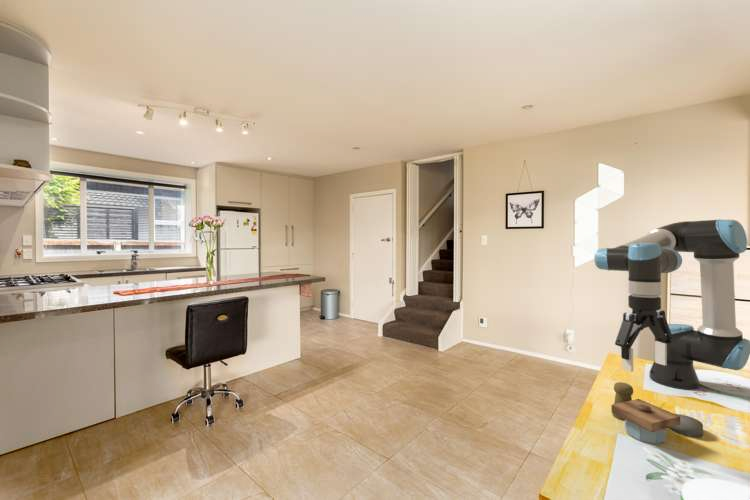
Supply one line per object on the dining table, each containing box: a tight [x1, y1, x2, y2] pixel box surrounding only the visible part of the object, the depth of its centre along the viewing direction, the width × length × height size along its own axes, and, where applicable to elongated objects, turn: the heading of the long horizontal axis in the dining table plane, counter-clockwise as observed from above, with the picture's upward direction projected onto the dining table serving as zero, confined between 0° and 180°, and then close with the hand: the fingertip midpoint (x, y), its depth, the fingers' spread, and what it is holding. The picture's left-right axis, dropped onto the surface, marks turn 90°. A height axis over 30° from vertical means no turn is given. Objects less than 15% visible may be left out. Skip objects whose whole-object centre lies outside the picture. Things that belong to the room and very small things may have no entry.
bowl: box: [624, 420, 667, 445], centre depth 101 cm, size 9×9×5 cm
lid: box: [611, 398, 680, 432], centre depth 101 cm, size 12×12×4 cm
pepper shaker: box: [611, 381, 634, 422], centre depth 111 cm, size 6×6×11 cm
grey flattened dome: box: [668, 413, 704, 439], centre depth 103 cm, size 8×8×3 cm
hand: (644, 367), depth 101 cm, fingers open, 13 cm apart
